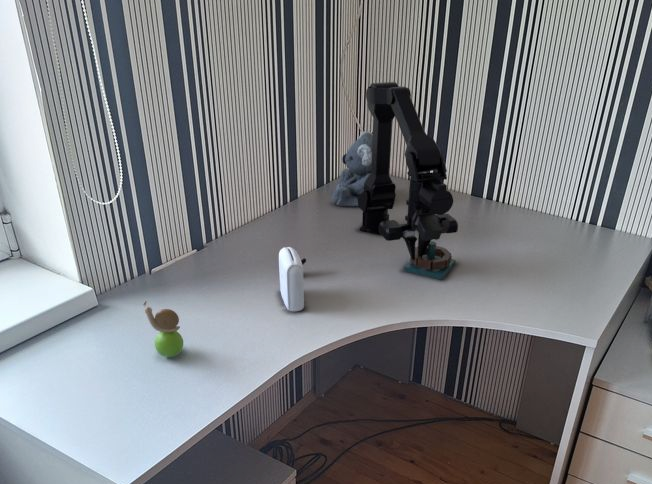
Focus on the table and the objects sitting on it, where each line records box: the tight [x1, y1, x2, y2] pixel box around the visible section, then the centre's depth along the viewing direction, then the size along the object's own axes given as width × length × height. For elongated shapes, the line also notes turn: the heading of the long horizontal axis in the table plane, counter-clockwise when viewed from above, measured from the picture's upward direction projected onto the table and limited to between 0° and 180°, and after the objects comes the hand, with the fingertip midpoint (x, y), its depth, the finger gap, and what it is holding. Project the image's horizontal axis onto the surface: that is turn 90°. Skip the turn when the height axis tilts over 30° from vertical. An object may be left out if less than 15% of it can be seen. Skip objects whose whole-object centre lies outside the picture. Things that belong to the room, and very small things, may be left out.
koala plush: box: [331, 129, 373, 208], centre depth 206 cm, size 17×18×20 cm
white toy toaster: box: [278, 246, 305, 313], centre depth 153 cm, size 10×4×12 cm, turn 17°
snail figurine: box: [142, 300, 184, 358], centre depth 133 cm, size 5×6×12 cm
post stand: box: [403, 240, 456, 281], centre depth 171 cm, size 10×10×7 cm
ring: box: [409, 245, 452, 270], centre depth 172 cm, size 10×10×2 cm
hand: (416, 258), depth 170 cm, fingers closed on ring, 2 cm apart
